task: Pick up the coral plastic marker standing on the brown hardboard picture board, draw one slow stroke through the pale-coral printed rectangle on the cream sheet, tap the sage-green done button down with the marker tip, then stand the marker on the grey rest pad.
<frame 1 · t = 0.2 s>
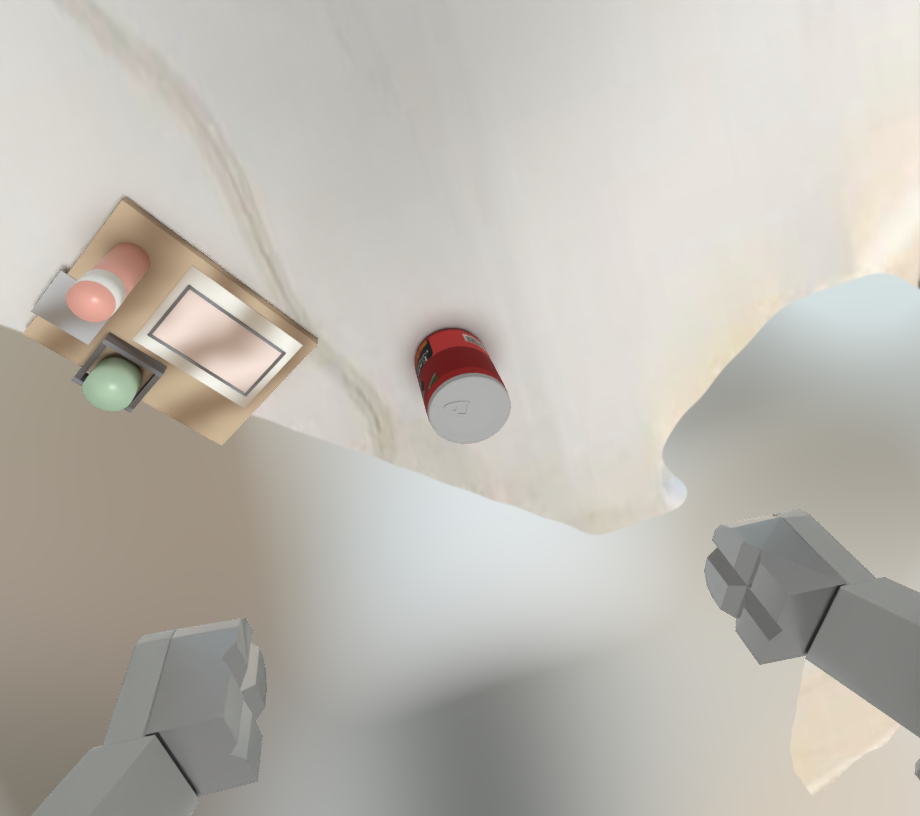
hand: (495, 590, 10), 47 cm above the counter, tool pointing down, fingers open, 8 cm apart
picture board: (181, 333, 54), on the counter
marker: (130, 259, 48), point 1 cm above the counter, touching picture board
canned food: (449, 357, 61), on the counter
done button: (113, 384, 51), point 4 cm above the counter, slide at 0.0 cm
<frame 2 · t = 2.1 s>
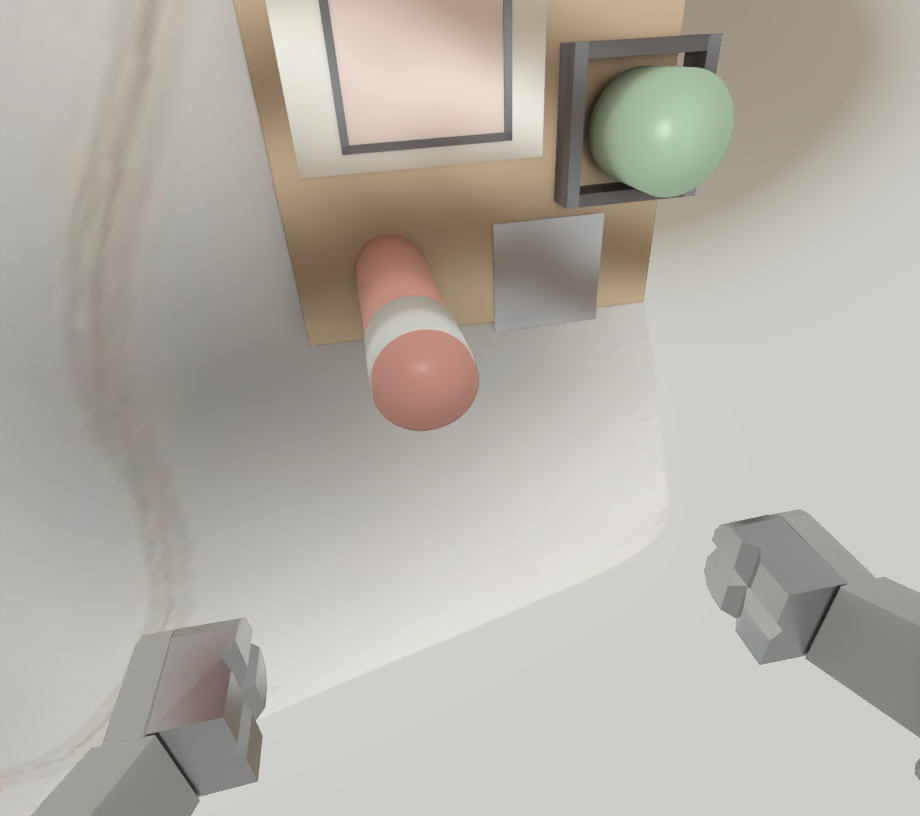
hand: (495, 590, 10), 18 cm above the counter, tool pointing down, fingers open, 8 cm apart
picture board: (469, 73, 21), on the counter
marker: (390, 269, 24), point 1 cm above the counter, touching picture board
done button: (657, 130, 20), point 4 cm above the counter, slide at 0.0 cm
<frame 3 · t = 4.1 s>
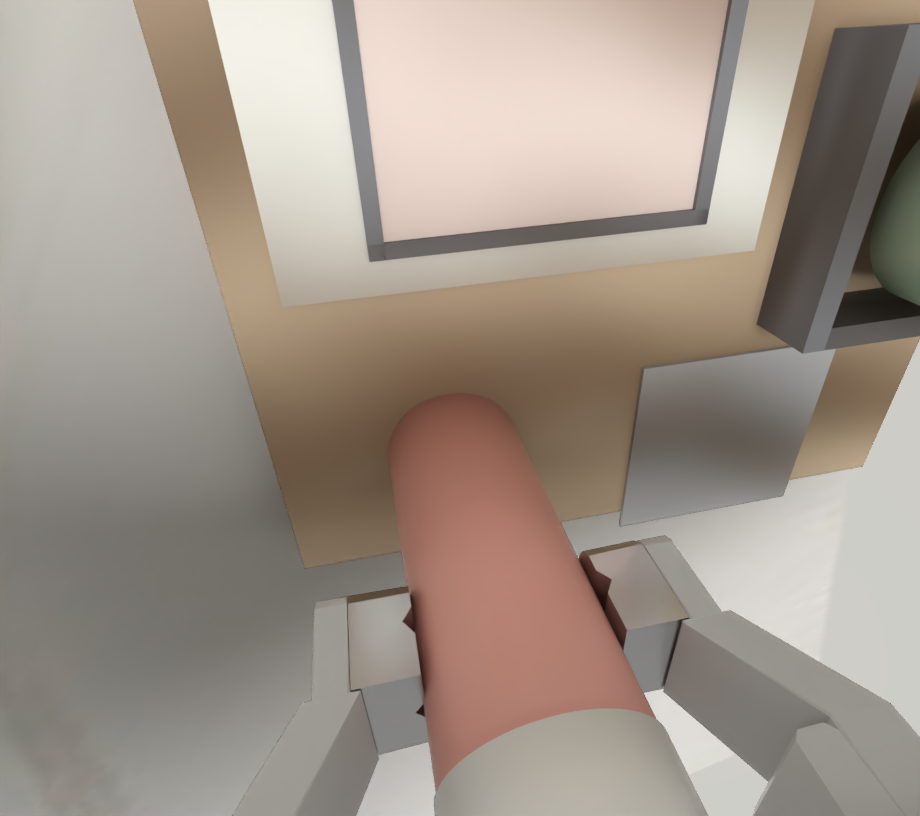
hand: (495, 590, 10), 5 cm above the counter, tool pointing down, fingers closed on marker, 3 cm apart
picture board: (625, 90, 11), on the counter
marker: (452, 448, 13), point 1 cm above the counter, touching gripper, picture board
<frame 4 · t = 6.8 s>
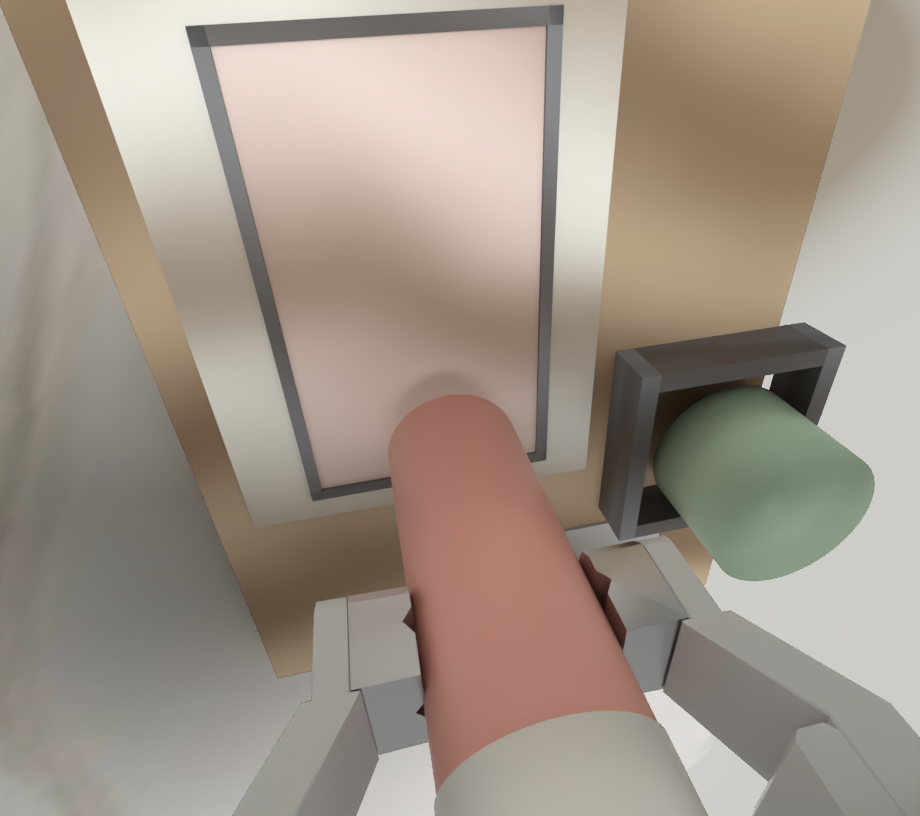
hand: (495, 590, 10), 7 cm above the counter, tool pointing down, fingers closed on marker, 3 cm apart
picture board: (487, 373, 16), on the counter
marker: (452, 449, 13), point 3 cm above the counter, touching gripper
done button: (753, 481, 14), point 4 cm above the counter, slide at 0.0 cm
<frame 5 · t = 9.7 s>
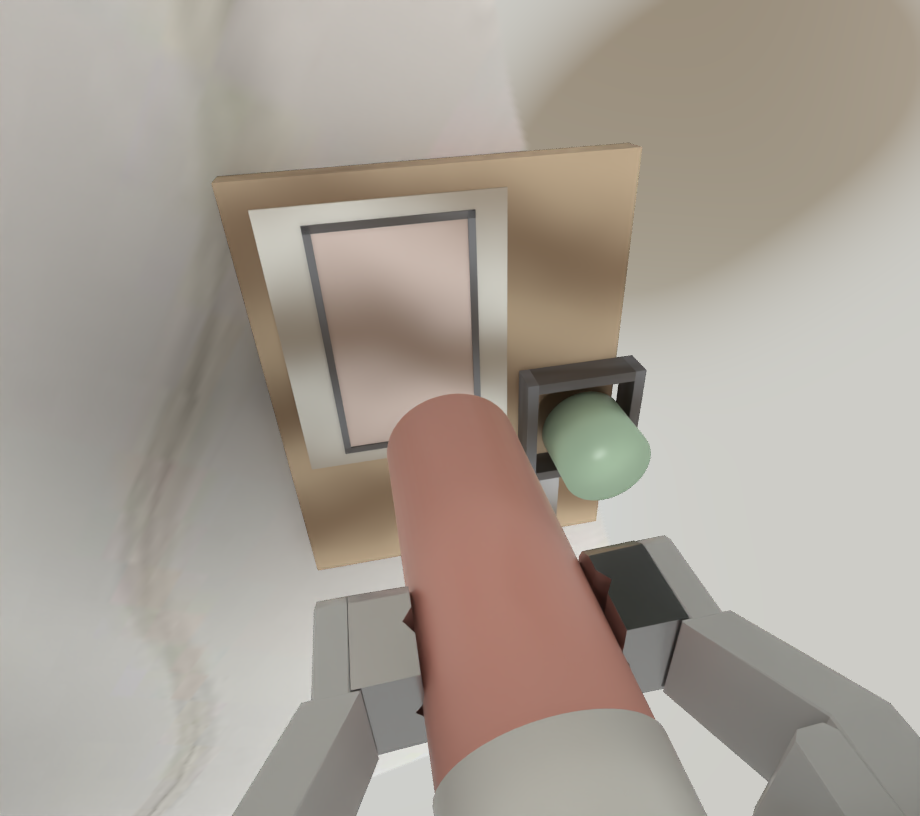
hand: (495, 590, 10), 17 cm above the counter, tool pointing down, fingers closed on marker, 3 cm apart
picture board: (448, 382, 27), on the counter
marker: (451, 449, 13), point 13 cm above the counter, touching gripper
done button: (594, 445, 26), point 4 cm above the counter, slide at 0.0 cm
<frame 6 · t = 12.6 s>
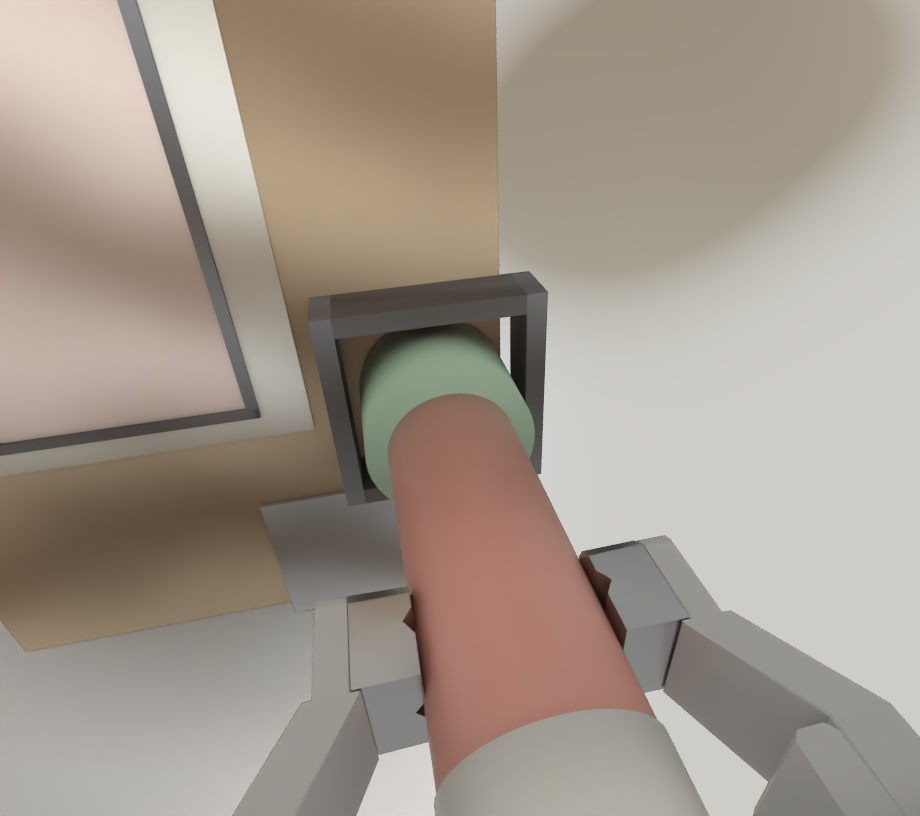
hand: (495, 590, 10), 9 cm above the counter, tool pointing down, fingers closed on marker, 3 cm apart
picture board: (193, 324, 15), on the counter
marker: (452, 448, 13), point 4 cm above the counter, touching done button, gripper
done button: (441, 414, 14), point 3 cm above the counter, slide at 1.1 cm, touching marker
when the fingers open (6 cm above the counter, at t = 15.5 s): marker stays where it is, resting on picture board.
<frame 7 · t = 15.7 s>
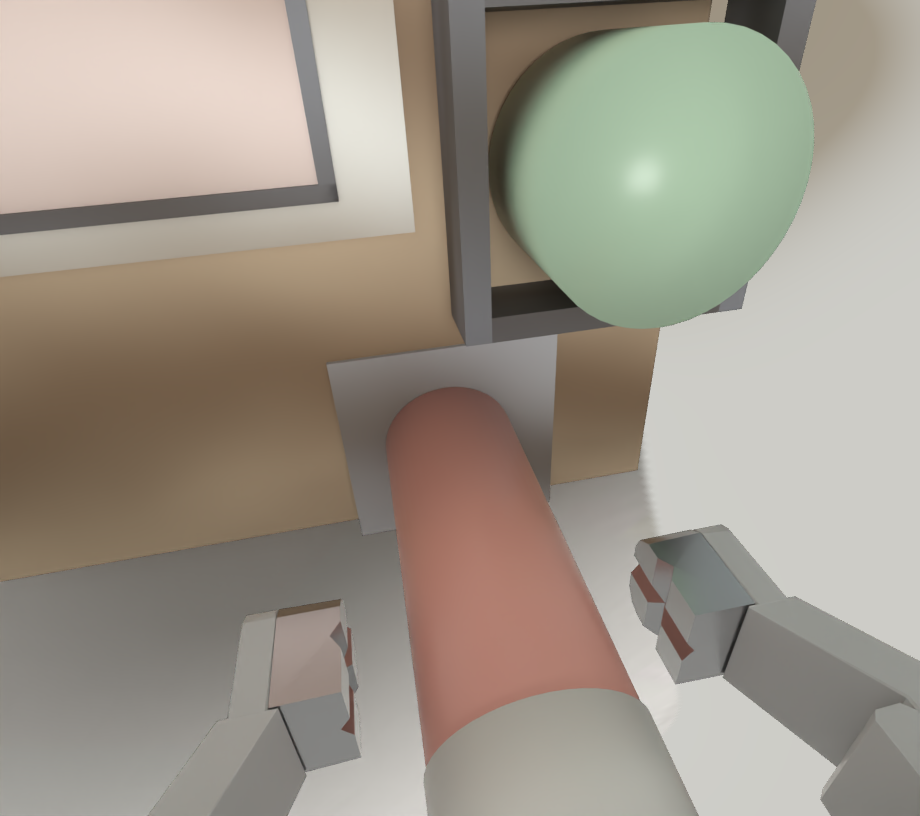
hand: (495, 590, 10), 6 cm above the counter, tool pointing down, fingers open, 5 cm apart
picture board: (237, 50, 9), on the counter
marker: (449, 441, 13), point 1 cm above the counter, touching picture board
done button: (630, 176, 9), point 3 cm above the counter, slide at 1.1 cm
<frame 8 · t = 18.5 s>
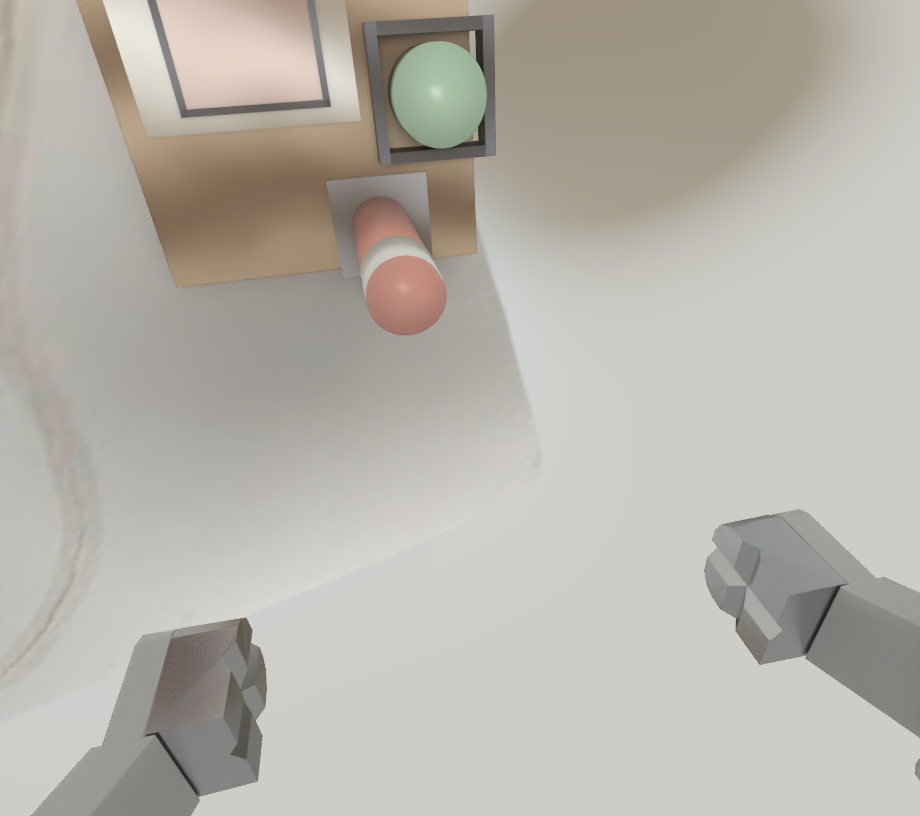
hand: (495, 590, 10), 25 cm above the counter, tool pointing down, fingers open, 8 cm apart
picture board: (293, 49, 25), on the counter
marker: (381, 226, 29), point 1 cm above the counter, touching picture board
done button: (435, 94, 25), point 3 cm above the counter, slide at 1.1 cm
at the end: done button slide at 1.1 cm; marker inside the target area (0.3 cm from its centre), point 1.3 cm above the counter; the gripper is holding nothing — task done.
